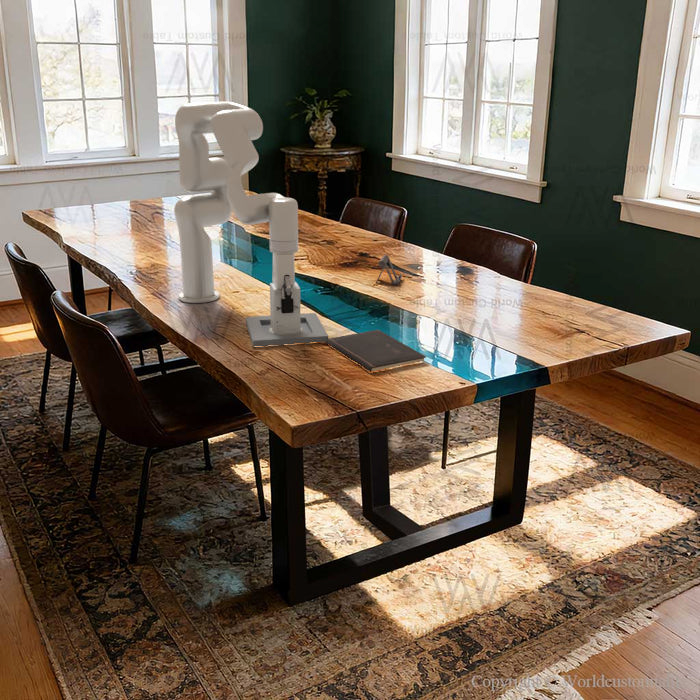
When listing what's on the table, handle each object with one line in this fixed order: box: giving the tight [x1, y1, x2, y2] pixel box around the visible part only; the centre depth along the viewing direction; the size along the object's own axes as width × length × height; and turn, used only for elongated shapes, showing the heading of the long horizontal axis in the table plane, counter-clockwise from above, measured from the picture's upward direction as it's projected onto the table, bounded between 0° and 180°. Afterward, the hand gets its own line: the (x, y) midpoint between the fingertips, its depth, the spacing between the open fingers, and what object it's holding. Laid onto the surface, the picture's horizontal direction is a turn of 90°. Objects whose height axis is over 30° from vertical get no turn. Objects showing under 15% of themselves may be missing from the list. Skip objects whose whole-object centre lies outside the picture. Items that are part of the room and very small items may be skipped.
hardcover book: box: [326, 329, 427, 372], centre depth 203 cm, size 16×23×2 cm
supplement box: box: [269, 281, 301, 334], centre depth 215 cm, size 7×7×13 cm
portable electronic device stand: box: [375, 254, 403, 287], centre depth 266 cm, size 9×8×8 cm
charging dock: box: [245, 312, 329, 348], centre depth 217 cm, size 20×20×2 cm
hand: (284, 307), depth 215 cm, fingers open, 9 cm apart
